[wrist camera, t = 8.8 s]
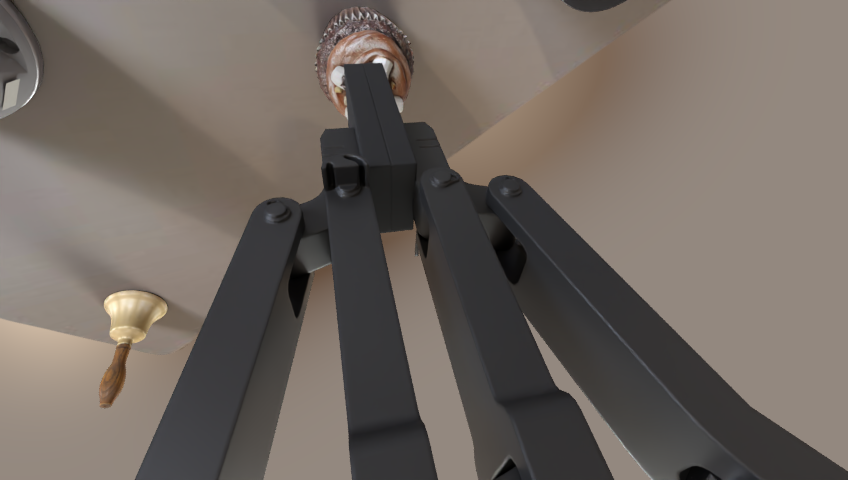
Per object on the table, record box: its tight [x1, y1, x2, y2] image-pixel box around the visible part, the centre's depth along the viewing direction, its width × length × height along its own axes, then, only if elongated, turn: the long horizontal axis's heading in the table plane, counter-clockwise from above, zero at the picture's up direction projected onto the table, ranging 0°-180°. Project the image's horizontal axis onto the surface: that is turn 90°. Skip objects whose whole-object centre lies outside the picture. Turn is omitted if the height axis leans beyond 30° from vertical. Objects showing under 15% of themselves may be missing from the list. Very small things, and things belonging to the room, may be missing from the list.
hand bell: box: [99, 290, 168, 408], centre depth 58 cm, size 8×8×16 cm
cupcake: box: [315, 6, 414, 120], centre depth 39 cm, size 10×10×10 cm
